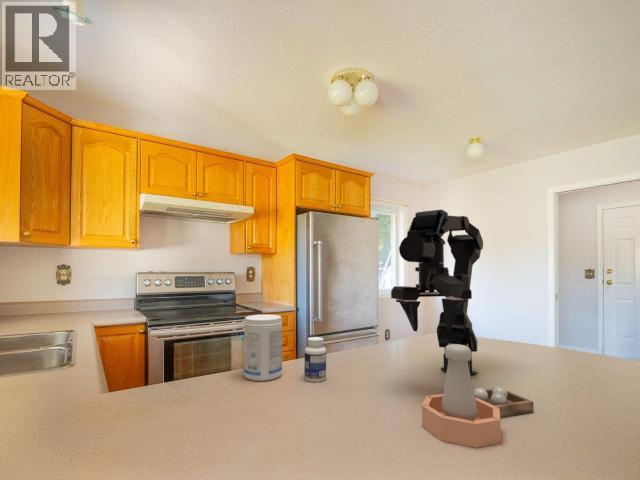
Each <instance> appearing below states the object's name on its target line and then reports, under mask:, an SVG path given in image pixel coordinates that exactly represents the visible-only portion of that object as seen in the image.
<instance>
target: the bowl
mask: <svg viewBox="0 0 640 480" xmlns="http://www.w3.org/2000/svg"><path fill="white" fill-rule="evenodd" d="M442 399H443V393H439V394H430V395H426V396H425V398H424V401H423V402H422V404H421V422H422V423H421V424H422V428H424V429H425V430H426V431H428V432H430V433H431V435H433V436H435V438H438V439H439V440H440V441H443V442H447V443H452V444H456V445H460V446H465V447H469V448H474V449H477V448H483V447H487V446H488V447H489V446H493V445H497V444H501V443H502V432H501V418H500V411H499V408H497V407H495V406H493V405H491V404H489V403H487V402H485V401H483V400H481V399H479V398H476V397H475V400H476V405H477V409H478V414H477V416H476V418H475V420H474V421H470V420H465V419H459V418H454V417H449V416H445V414H444V412H443V409H442Z"/></svg>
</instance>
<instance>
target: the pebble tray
mask: <svg viewBox="0 0 640 480" xmlns="http://www.w3.org/2000/svg"><path fill="white" fill-rule="evenodd" d="M494 388H495V387H494ZM494 388H484V390H486V392H487V393H488V400H487V401H486V402H487V403H489V404H491V405H493V404H492V403H491V396H492V390H493V389H494ZM506 392H507V394H508V397H507V399H506V400H507V404H501V405H494V406H495V407H497V408H499V411H500V419H504V418H509V417H514V416H515V417H516V416H522V415H526V414H533V413H535V412H534V411H535V409H534V401H533V400H530V399H528V398H526V397H523V396H520V395H519V394H517V393H513V392H510V391H508V390H506Z"/></svg>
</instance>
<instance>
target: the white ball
mask: <svg viewBox="0 0 640 480" xmlns="http://www.w3.org/2000/svg"><path fill="white" fill-rule="evenodd" d="M492 389H493V388H492ZM506 391H507V390H506V389H505V388H504V387H502V386H494V389H493V390H492V394H494V393H501V394H503V395H504V396H505V397H506V399H507V397H508V394H507V392H506Z"/></svg>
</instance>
